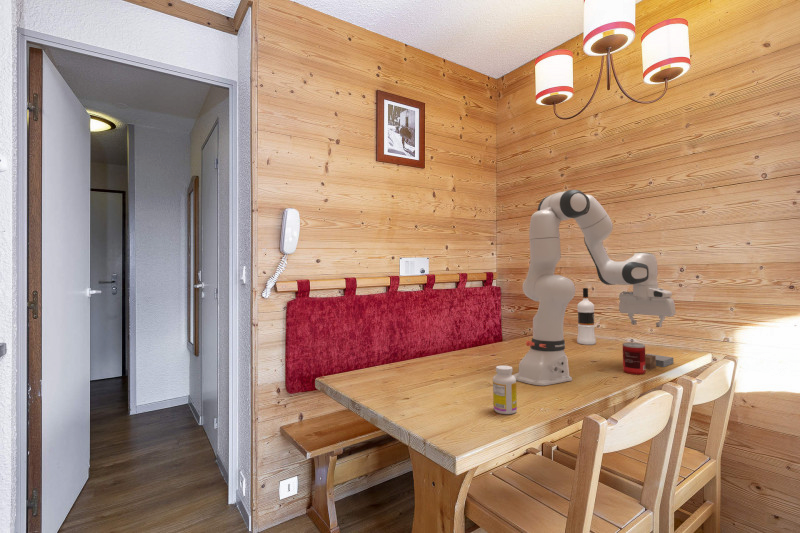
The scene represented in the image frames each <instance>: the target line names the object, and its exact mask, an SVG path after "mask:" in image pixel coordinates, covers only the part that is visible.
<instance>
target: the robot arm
mask: <svg viewBox="0 0 800 533" xmlns="http://www.w3.org/2000/svg"><path fill="white" fill-rule="evenodd" d="M571 219H573V220H574V221H575V222H576V224H577V226H578V227H579V229H580V230H581V232H582V235H583V242H584V244H585V247H586V250H587V251H588V254H589V255H590V258H591V259H592V262H593V263H594V266H595V268H596V272H597V277H598V279H599V280H600V282H602V284H604V285H606V286H615V285H624V286H625V285H626V286H632V291H626V290H625V291H621V292H620V293H619V295H618V298H619V304H618V312H619V313H621V314H627V317H628V318H629V319H630V320H629V321H630V322H631V323H630V324H631V325H632V326H633V325H635V326H636V325H637V324H638V323H637V322H638V321H637V319H635V318H634V316H635V315H645V316H655V317H658V319H659V321H657V322H655V324H656V325H655V326H656V328H662V327H663V323H664V321H665V319H666V317H669V318H670V317H671V318H672V317H674V316H675V315H676V304H675V301H674V299H673V298H672V297H673V292H672V291H670V290H668V289H664V288H661V287H659V282H658V279H657V278H658V275H659V273H658V270H659V268H658V262H657V261H658V260H657V258H656V256H655V255H654V254H653V253H650V252H635V253H633V255H632V256H631V257H630V258H628V259H625V260H623V261H622V260H621V261H615V260H612V259H611V258H610V257H609V255H608V253H607V251H606V248H605V247H604V241H605V240H606V239H607V238H608V237H609V236H610V235H611V233H612V232H613V229H614V227H613V226H614V225H613V221H612V220H611V217H610V215H609V214H608V213H607V211H606V209H605V208H604V207H603V205H602V204H601V203H600V202H599V201H598V200H597V199H596V198H595V197H594V196H593V195H591V194H586V193H584V191H581V190H578V189H568V190H566V191H558V192H556V193H553V194H551V195H547V196H546V197H544V198H543V199H541V201H540V202H539V204H538V205H537V211H535V212H534V213H532V215H531V216H530V220H529V237H528V238H529V257H530V258H529V267H528V271H527V275H526V278H525V279H524V281H523V283H522V292H523V294H524V295H525V296H526V297H527V298H529V299H530V300H532V301H534V302H538V303H539V305H538V307H537V308H538V309H537V311H536V313H535V315H534V316H533V318H532V338H531V340H526V342H525V345H526V346H527V347H529V348H530V349H529V350H528V351H527V352H526V354H525V355H524V356H523V358H522V359H521V360H520V361H519V363H518V372H516V373H514V374H512V375H513V376H514V377H515V378H516V381H518V382H521V383H525V384H529V385H533V386H541V387H543V386H549V385H550V386H551V385H554V384H560V383H566V382H570V381H571V382H572V381H573V377H572V376H570V367H569V360H568V356H567V354H566V352H565V349H566V341H565V339H564V322H565V320H564V319H565V315H566V311H567V307H568V306H569V304H570V302H571V301H572V300H573V299H574V297H575V295H576V286H575V282H573V280H572V279H570V278H569V277H566V276H563V275H561V274H555V272H556V267H557V264H558V262H559V261H560V260H561V257H562V255H561V254H562V253H561V238H560V225H561V222H563V221H568V220H571Z"/></svg>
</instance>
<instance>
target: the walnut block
mask: <svg viewBox="0 0 800 533" xmlns="http://www.w3.org/2000/svg"><path fill="white" fill-rule="evenodd" d="M647 354H648V353H645V370H647V371H648V370H649V371H652V370H654V369H657V366H656V356H653V355H647Z"/></svg>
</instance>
